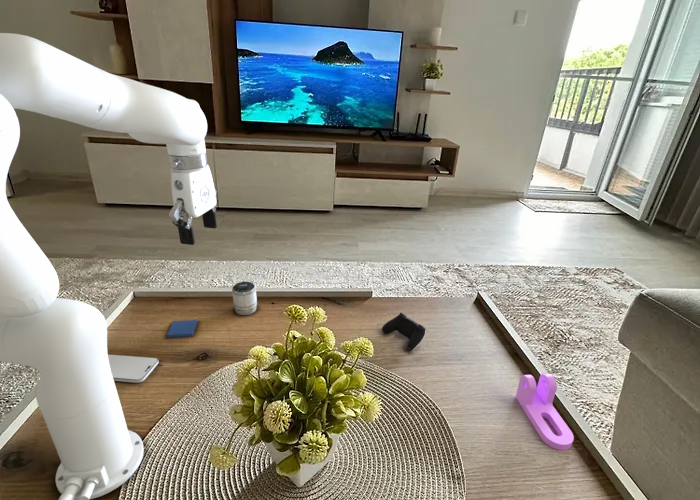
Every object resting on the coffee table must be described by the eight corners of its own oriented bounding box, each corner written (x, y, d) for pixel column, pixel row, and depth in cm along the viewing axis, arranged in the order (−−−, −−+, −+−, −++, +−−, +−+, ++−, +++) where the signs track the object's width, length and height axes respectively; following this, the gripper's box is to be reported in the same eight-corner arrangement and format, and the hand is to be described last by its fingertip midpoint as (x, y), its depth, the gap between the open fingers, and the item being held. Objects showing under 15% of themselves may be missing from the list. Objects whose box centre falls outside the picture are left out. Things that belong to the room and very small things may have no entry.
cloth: (192, 336, 99) (192, 333, 99) (167, 337, 98) (166, 335, 98) (197, 322, 105) (197, 319, 104) (173, 323, 104) (173, 321, 103)
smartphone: (98, 353, 91) (160, 357, 90) (100, 357, 92) (161, 361, 90) (75, 375, 85) (141, 380, 83) (76, 379, 85) (142, 384, 83)
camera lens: (234, 305, 113) (231, 280, 109) (256, 302, 114) (254, 278, 111) (234, 317, 107) (231, 292, 104) (258, 314, 109) (256, 289, 105)
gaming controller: (417, 356, 98) (432, 333, 98) (409, 351, 94) (425, 326, 95) (386, 335, 105) (401, 313, 106) (378, 329, 102) (394, 307, 103)
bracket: (515, 397, 83) (522, 371, 80) (540, 395, 84) (548, 370, 81) (549, 451, 71) (558, 422, 69) (578, 449, 72) (588, 421, 69)
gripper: (181, 172, 76) (194, 253, 83) (224, 154, 91) (232, 223, 98) (146, 169, 77) (162, 249, 84) (194, 152, 92) (204, 220, 100)
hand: (199, 235), depth 91 cm, fingers open, 9 cm apart
